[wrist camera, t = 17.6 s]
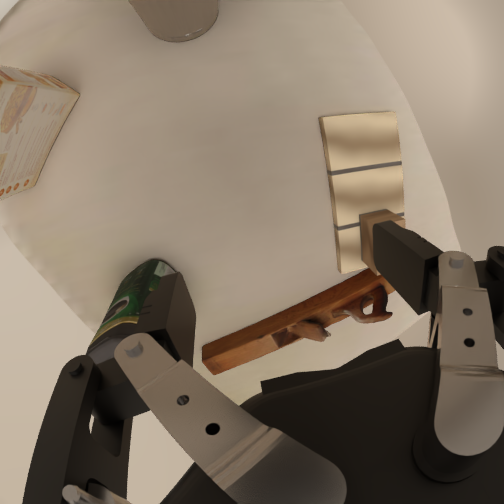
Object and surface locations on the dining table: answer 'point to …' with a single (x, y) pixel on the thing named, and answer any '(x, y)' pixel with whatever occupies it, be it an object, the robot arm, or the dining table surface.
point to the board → (361, 176)
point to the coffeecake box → (29, 124)
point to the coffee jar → (126, 309)
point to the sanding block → (367, 236)
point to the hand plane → (302, 321)
